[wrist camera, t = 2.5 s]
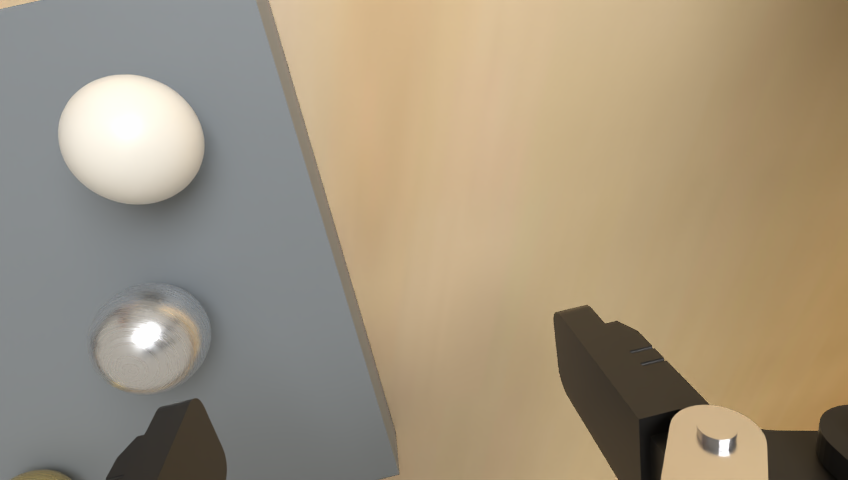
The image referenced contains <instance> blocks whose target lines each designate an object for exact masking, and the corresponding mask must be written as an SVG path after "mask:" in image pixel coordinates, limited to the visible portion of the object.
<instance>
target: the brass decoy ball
mask: <svg viewBox="0 0 848 480" xmlns="http://www.w3.org/2000/svg"><path fill="white" fill-rule="evenodd" d="M10 480H72V479H71V478H69V477H68V476H67V475H65V474H63V473H61V472H58V471H54V470H47V469H40V470H33V471H29V472H25V473H22V474H20V475H18V476H16V477H14V478H12V479H10Z"/></svg>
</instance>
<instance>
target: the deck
mask: <svg viewBox="0 0 848 480" xmlns="http://www.w3.org/2000/svg"><path fill="white" fill-rule="evenodd" d="M127 74H130V75H139V76H143V77H147V78H150V79H153V80H156V81H159V82H161V83H163V84H165V85H167V86H168V87H170V88H171V89H173V90H174V91H176V92H177V93H178V94H179V95H180V96H182V97H183V98H184V99H185V100H186V101H187V103H188V104H189V105H190V106H191V108H192V109H193V110H194V112H195V114H196V115H197V117H198V119H199V122H200V124H201V127H202V130H203V135H204V144H205V148H204V156H203V160H202V164H201V166H200V169H199V171H198V173H197V174H196V176H195V177H194V179H193V180H192V181H191V182H190V184H189V185H188V186H187V187H185V188H184V189H183V190H182V191H180V192H179V193H177V194H176V195H174V196H173V197H170V198H168V199H166V200H163V201H159V202H156V203H151V204H140V205H136V204H125V203H119V202H116V201H112V200H109V199H107V198H105V197H102V196H100V195H98V194H96V193H95V192H93V191H91V190H90V189H88V188H87V187H86V186H84V185H83V184H82V183H81V182H80V181H79V180H78V179H77V178H76V177H75V176H74V175H73V173H72V172H71V171H70V169H69V168H68V166H67V164H66V163H65V161H64V158H63V156H62V154H61V150H60V147H59V140H58V126H59V120H60V117H61V114H62V112H63V110H64V108H65V106H66V104H67V102H68V101H69V100H70V98H71V97H72V96H73V95H74V94H75V93H76V92H77V91H78V90H79V89H81V88H82V87H84V86H85V85H87V84H88V83H90V82H92V81H94V80H97V79H100V78H103V77H106V76H112V75H127ZM144 283H165V284H170V285H173V286H176V287H179V288H181V289H183V290H185V291H187V292H188V293H190V294H191V295H193V296H194V297H195V298H196V299H197V300H198V301H199V302H200V303H201V305H202V306H203V307H204V309H205V311H206V313H207V315H208V318H209V321H210V326H211V342H210V347H209V350H208V353H207V356H206V358H205V360H204V361H203V363H202V365H201V366H200V367H199V369H198V370H197V371H196V372H195V373H194V374H193V375H192V376H191V377H190V378H189V379H187V380H186V381H185V382H183V383H182V384H180V385H179V386H177V387H175V388H172V389H170V390H168V391H165V392H161V393H156V394H148V395H139V394H132V393H127V392H124V391H121V390H118V389H116V388H114V387H112V386H111V385H109V384H108V383H107V382H105V381H104V380H103V379H102V378H101V377H100V376H99V375H98V374H97V373H96V371H95V370H94V368H93V366H92V364H91V362H90V359H89V356H88V350H87V337H88V332H89V328H90V325H91V323H92V320H93V318H94V316H95V315H96V313H97V312H98V310H99V309H100V308H101V307H102V306H103V304H104V303H105V302H107V301H108V300H109V299H110V298H111V297H112V296H114V295H116V294H117V293H119V292H121V291H122V290H124V289H127V288H129V287H132V286H136V285H139V284H144ZM194 398H197V399H199V400H200V401H201V402H202V403H203V405H204V407H205V409H206V412H207V414H208V416H209V418H210V421H211V423H212V425H213V427H214V430H215V432H216V434H217V436H218V438H219V441H220V443H221V445H222V447H223V450H224V453H225V457H226V463H227V477H226V480H379V479H383V478H387V477H391V476H395V475H399V464H398V453H397V442H396V432H395V429H394V425H393V422H392V419H391V415H390V412H389V408H388V405H387V402H386V398H385V395H384V391H383V388H382V385H381V381H380V378H379V374H378V371H377V368H376V364H375V361H374V357H373V354H372V351H371V347H370V344H369V340H368V337H367V334H366V330H365V327H364V323H363V320H362V317H361V313H360V310H359V306H358V303H357V300H356V296H355V293H354V289H353V286H352V283H351V279H350V276H349V272H348V269H347V266H346V262H345V259H344V255H343V252H342V249H341V245H340V242H339V238H338V235H337V232H336V228H335V225H334V221H333V218H332V215H331V211H330V208H329V204H328V201H327V198H326V194H325V191H324V187H323V184H322V181H321V177H320V174H319V170H318V167H317V164H316V160H315V157H314V153H313V150H312V147H311V143H310V140H309V136H308V133H307V130H306V126H305V123H304V119H303V116H302V113H301V109H300V106H299V102H298V99H297V96H296V92H295V89H294V85H293V82H292V79H291V75H290V72H289V68H288V65H287V62H286V58H285V55H284V51H283V48H282V45H281V41H280V38H279V34H278V31H277V28H276V24H275V21H274V17H273V14H272V11H271V7H270V4H269V0H40V1H35V2H31V3H26V4H22V5H17V6H12V7H8V8H3V9H0V480H10V479H12V478H14V477H16V476H18V475H20V474H22V473H25V472H29V471H33V470H40V469H47V470H54V471H58V472H61V473H63V474H65V475H67V476H68V477H69V478H71V479H72V480H106V477H107V475H108V473H109V472H110V470H111V468H112V466H113V464H114V462H115V461H116V459H117V457H118V456H119V455H120V454H121V453H122V452H123V451H124V450H125V449H126V448H127V447H128V445H129V444H130V443H131V442H132V441H133V440H134V439H135V438H136V437H137V436H141V435H144V434H145V432H146V431H147V429H148V427H149V425H150V423H151V421H152V419H153V417H154V415H155V413H156V411H157V409H158V408H159V407H161V406H165V405H169V404H173V403H177V402H181V401H185V400H190V399H194Z"/></svg>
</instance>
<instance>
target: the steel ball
mask: <svg viewBox="0 0 848 480" xmlns="http://www.w3.org/2000/svg"><path fill="white" fill-rule="evenodd" d="M210 342H211V326H210V321H209V318H208V315H207V313H206V311H205V309H204V307H203V306H202V305H201V303H200V302H199V301H198V300H197V299H196V298H195V297H194V296H193V295H191V294H190V293H188V292H187V291H185V290H183V289H181V288H179V287H176V286H173V285H170V284H165V283H144V284H139V285H136V286H132V287H129V288H127V289H124V290H122V291H121V292H119V293H117V294H116V295H114V296H112V297H111V298H110V299H109V300H108V301H107V302H105V303H104V304H103V306H102V307H101V308H100V309H99V310H98V312H97V313H96V315H95V316H94V318H93V320H92V323H91V325H90V328H89V332H88V337H87V350H88V356H89V359H90V362H91V364H92V366H93V368H94V370H95V371H96V373H97V374H98V375H99V376H100V377H101V378H102V379H103V380H104V381H105V382H107V383H108V384H109V385H111V386H112V387H114V388H116V389H118V390H121V391H124V392H127V393H132V394H139V395H148V394H156V393H161V392H165V391H168V390H170V389H172V388H175V387H177V386H179V385H180V384H182V383H183V382H185V381H186V380H187V379H189V378H190V377H191V376H192V375H193V374H194V373H195V372H196V371H197V370H198V369H199V367H200V366H201V365H202V363H203V361H204V360H205V358H206V356H207V353H208V350H209V347H210Z"/></svg>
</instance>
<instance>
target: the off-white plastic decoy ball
mask: <svg viewBox="0 0 848 480" xmlns="http://www.w3.org/2000/svg"><path fill="white" fill-rule="evenodd" d="M58 140H59V147H60V150H61V154H62V156H63V158H64V161H65V163H66V164H67V166H68V168H69V169H70V171H71V172H72V173H73V175H74V176H75V177H76V178H77V179H78V180H79V181H80V182H81V183H82V184H83V185H84V186H86V187H87V188H88V189H90V190H91V191H93V192H95V193H96V194H98V195H100V196H102V197H105V198H107V199H109V200H112V201H116V202H119V203H125V204H136V205H140V204H151V203H156V202H159V201H163V200H166V199H168V198H170V197H173V196H174V195H176V194H177V193H179V192H180V191H182V190H183V189H184V188H185V187H187V186H188V185H189V184H190V182H191V181H192V180H193V179H194V177H195V176H196V174H197V173H198V171H199V169H200V166H201V164H202V160H203V156H204V148H205V144H204V135H203V130H202V127H201V124H200V122H199V119H198V117H197V115H196V114H195V112H194V110H193V109H192V108H191V106H190V105H189V104H188V103H187V101H186V100H185V99H184V98H183V97H182V96H180V95H179V94H178V93H177V92H176V91H174V90H173V89H171V88H170V87H168V86H167V85H165V84H163V83H161V82H159V81H156V80H153V79H150V78H147V77H143V76H139V75H130V74H127V75H112V76H106V77H103V78H100V79H97V80H94V81H92V82H90V83H88V84H87V85H85V86H84V87H82V88H81V89H79V90H78V91H77V92H76V93H75V94H74V95H73V96H72V97H71V98H70V100H69V101H68V102H67V104H66V106H65V108H64V110H63V112H62V114H61V117H60V120H59V126H58Z"/></svg>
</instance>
